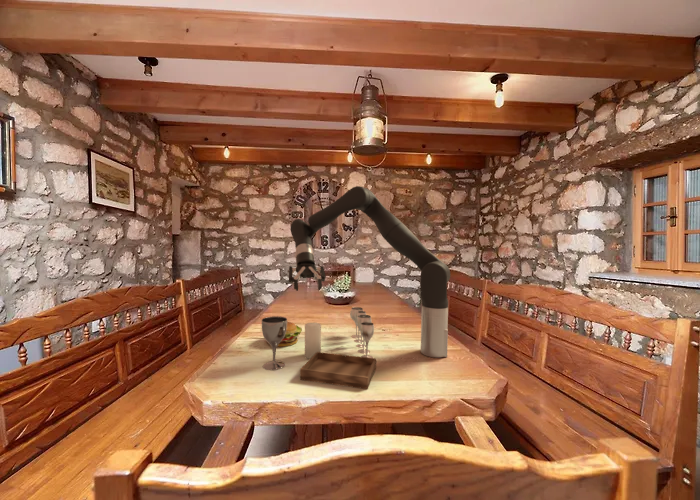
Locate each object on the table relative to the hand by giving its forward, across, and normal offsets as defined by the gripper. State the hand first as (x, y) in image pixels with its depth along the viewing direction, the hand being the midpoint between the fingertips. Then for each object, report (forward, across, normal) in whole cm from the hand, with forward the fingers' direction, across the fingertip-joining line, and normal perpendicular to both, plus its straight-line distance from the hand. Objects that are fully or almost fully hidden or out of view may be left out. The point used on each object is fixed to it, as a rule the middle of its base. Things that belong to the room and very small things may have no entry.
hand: (308, 289), depth 117 cm
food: (+12, -8, +20) cm, 24 cm away
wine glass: (+27, -13, +4) cm, 30 cm away
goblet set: (+19, +20, +12) cm, 30 cm away
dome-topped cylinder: (+23, 0, +8) cm, 24 cm away
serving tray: (+34, +6, -4) cm, 35 cm away
